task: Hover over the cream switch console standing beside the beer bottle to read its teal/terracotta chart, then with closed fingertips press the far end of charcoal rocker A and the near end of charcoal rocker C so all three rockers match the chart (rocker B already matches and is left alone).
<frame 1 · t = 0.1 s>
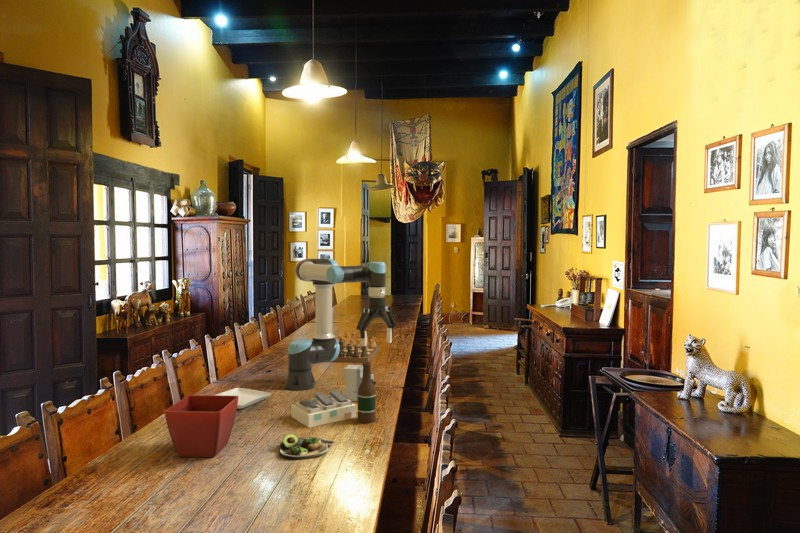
hand: (376, 344, 233), 28 cm above the table, fingers open, 13 cm apart
rocker b: (323, 399, 219), point 7 cm above the table, hinge at 12.0°
chess set: (343, 356, 339), on the table
rocker c: (338, 396, 223), point 7 cm above the table, hinge at 12.0°
salad plate 2: (239, 403, 239), on the table
circuit breaker: (360, 399, 245), on the table
console: (323, 416, 219), on the table
plant pot: (203, 450, 184), on the table
beer bottle: (366, 420, 215), on the table
salad plate: (302, 451, 185), on the table
rocker a: (308, 402, 215), point 7 cm above the table, hinge at -12.0°
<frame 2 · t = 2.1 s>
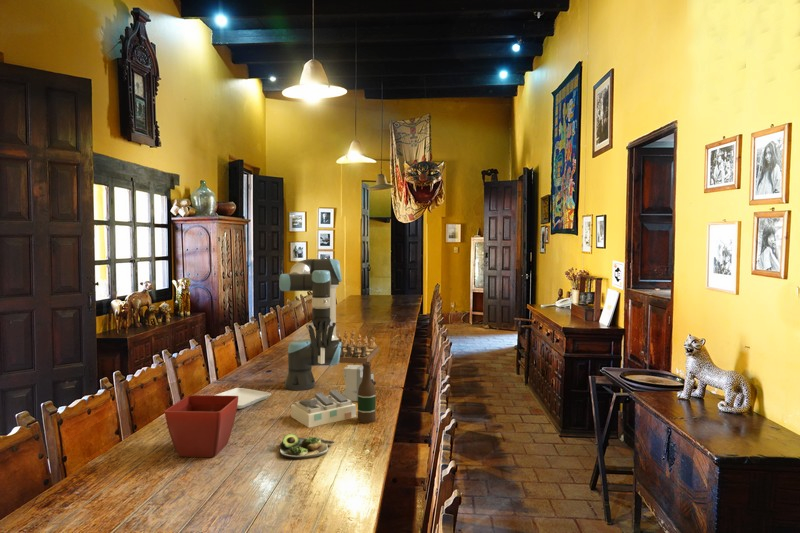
hand: (321, 363, 220), 22 cm above the table, fingers closed
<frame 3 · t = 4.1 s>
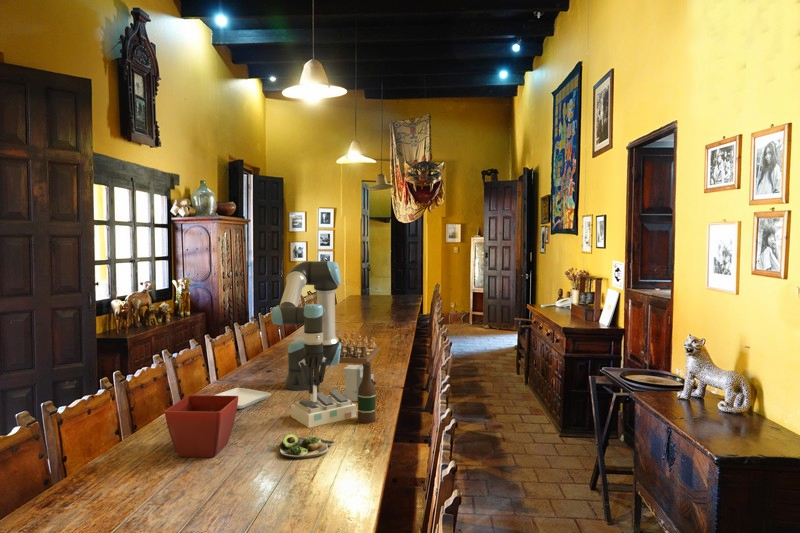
hand: (313, 401, 211), 9 cm above the table, fingers closed
rocker a: (308, 402, 215), point 7 cm above the table, hinge at -11.4°, touching gripper
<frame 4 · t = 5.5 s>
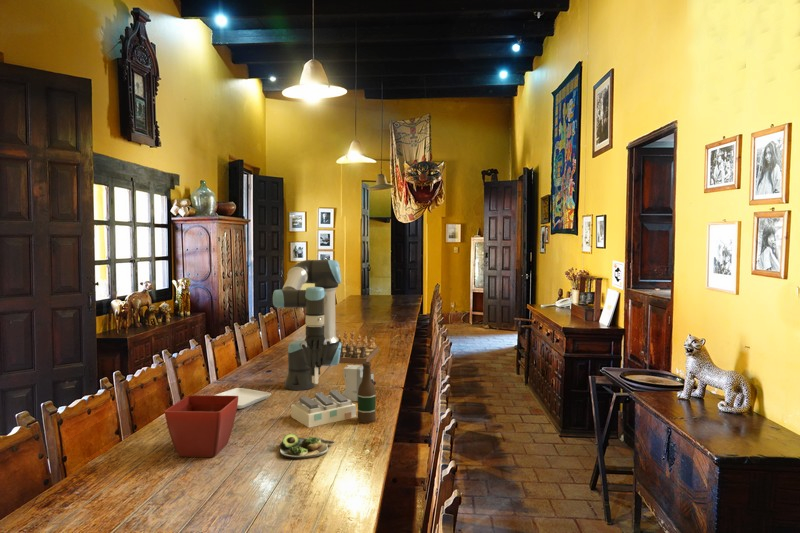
hand: (315, 382, 212), 16 cm above the table, fingers closed
rocker a: (308, 402, 215), point 7 cm above the table, hinge at 5.2°
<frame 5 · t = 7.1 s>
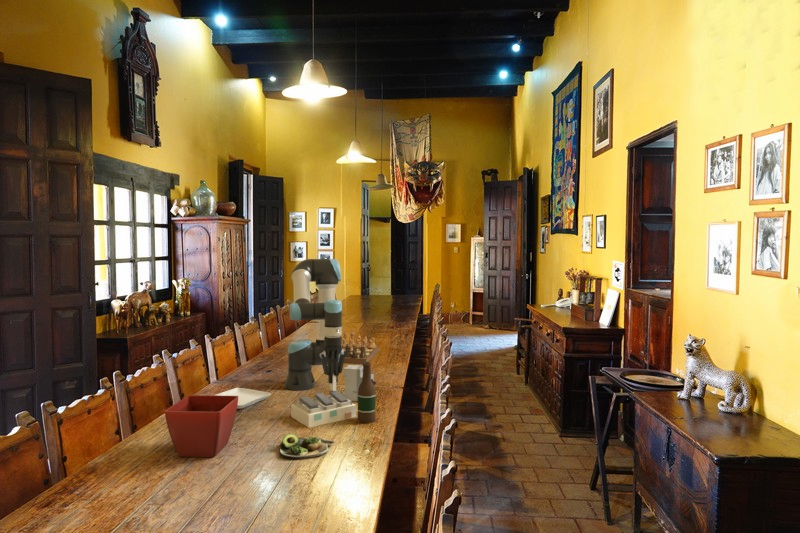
hand: (333, 390, 226), 9 cm above the table, fingers closed
rocker c: (338, 396, 223), point 7 cm above the table, hinge at 11.8°, touching gripper
rocker a: (308, 402, 215), point 7 cm above the table, hinge at 6.0°
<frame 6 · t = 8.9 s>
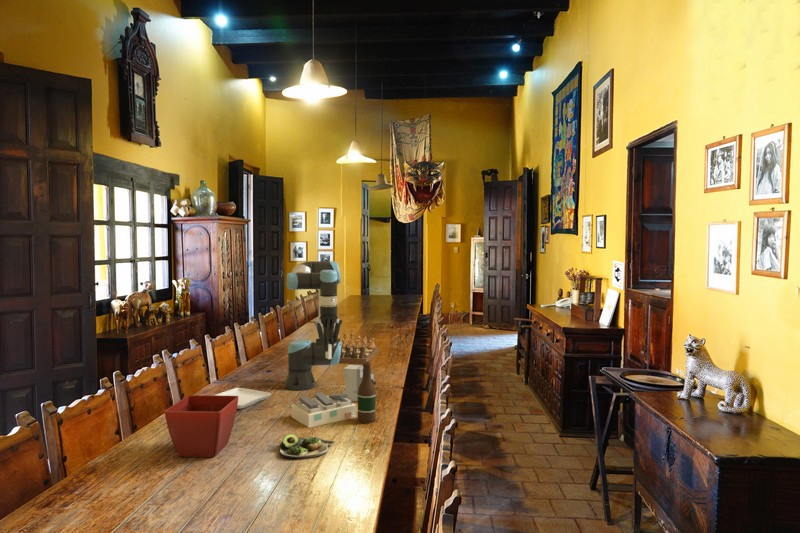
hand: (328, 358, 231), 22 cm above the table, fingers closed
rocker c: (337, 396, 223), point 7 cm above the table, hinge at -14.3°
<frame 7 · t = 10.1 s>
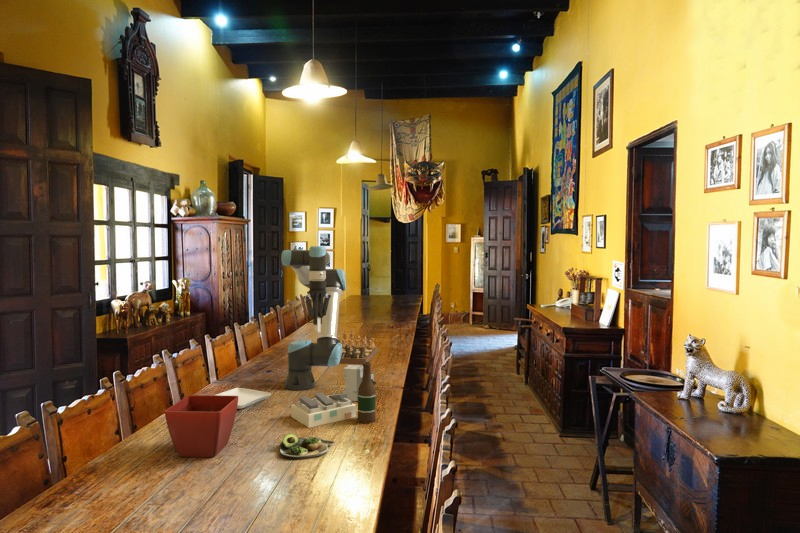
hand: (317, 331, 239), 32 cm above the table, fingers closed
rocker c: (337, 396, 223), point 7 cm above the table, hinge at -15.0°
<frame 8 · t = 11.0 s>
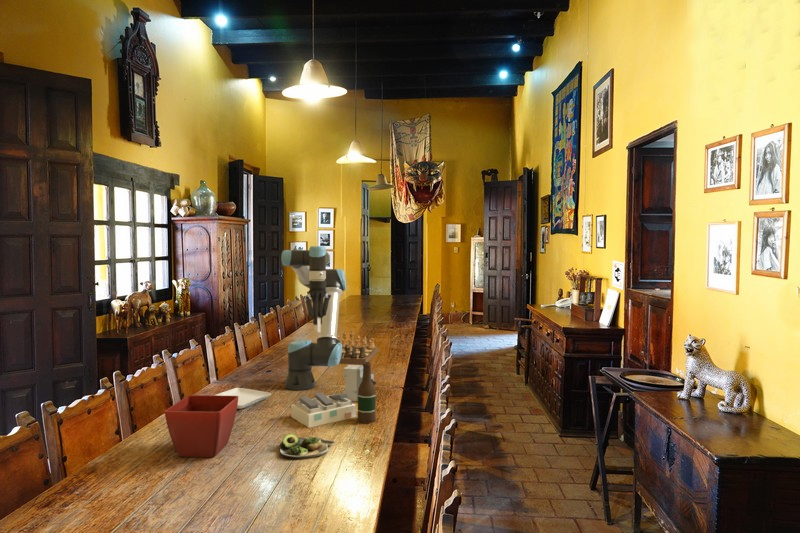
hand: (317, 331, 239), 32 cm above the table, fingers closed
at the end: rocker a at +6° (first picture: -12°); rocker c at -15° (first picture: +12°); rocker b at +12° (first picture: +12°) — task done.
